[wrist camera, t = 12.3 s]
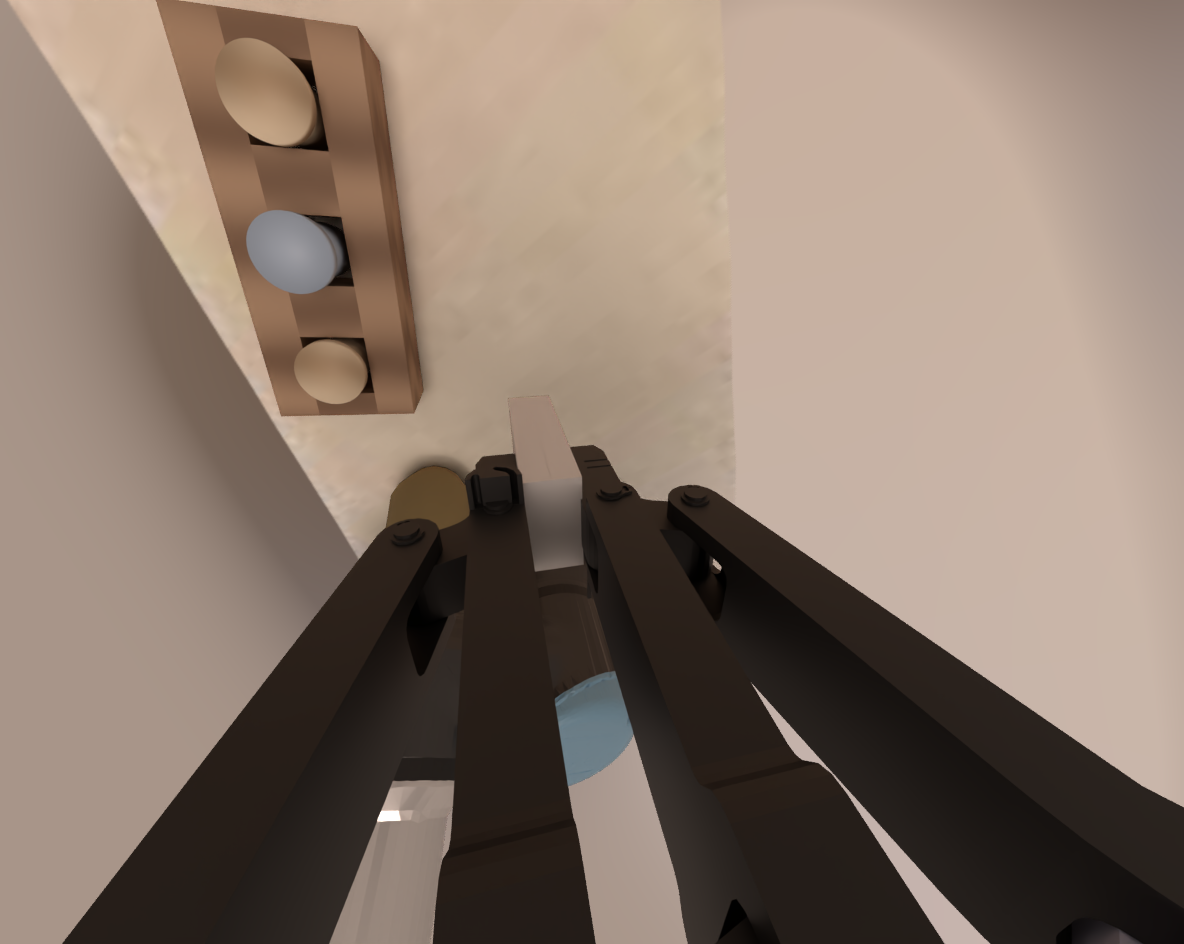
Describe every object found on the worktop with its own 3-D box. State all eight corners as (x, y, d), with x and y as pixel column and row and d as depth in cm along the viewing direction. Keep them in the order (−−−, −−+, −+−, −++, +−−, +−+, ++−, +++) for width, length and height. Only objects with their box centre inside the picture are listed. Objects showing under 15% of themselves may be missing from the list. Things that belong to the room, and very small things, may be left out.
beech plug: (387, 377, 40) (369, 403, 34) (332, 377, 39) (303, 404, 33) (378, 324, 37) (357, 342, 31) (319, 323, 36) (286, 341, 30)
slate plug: (366, 284, 34) (339, 295, 28) (300, 281, 33) (259, 293, 27) (354, 216, 32) (323, 213, 26) (284, 211, 31) (235, 207, 25)
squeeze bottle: (409, 445, 44) (367, 559, 29) (486, 470, 47) (484, 586, 32) (386, 508, 47) (336, 642, 32) (459, 528, 50) (447, 660, 35)
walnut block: (423, 391, 42) (414, 413, 37) (308, 392, 40) (281, 416, 35) (379, 60, 31) (357, 26, 26) (214, 39, 29) (155, -3, 23)
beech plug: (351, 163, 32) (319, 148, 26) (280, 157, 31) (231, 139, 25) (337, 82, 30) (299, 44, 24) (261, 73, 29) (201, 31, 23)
